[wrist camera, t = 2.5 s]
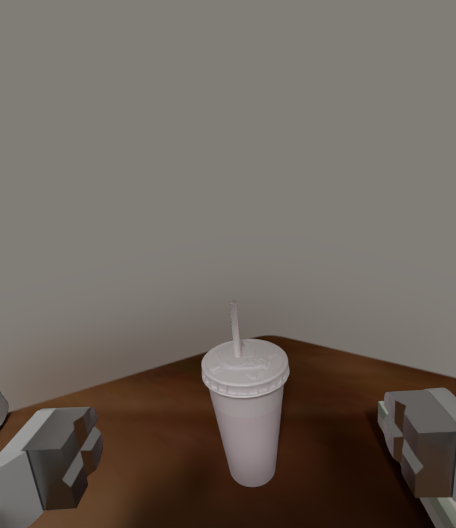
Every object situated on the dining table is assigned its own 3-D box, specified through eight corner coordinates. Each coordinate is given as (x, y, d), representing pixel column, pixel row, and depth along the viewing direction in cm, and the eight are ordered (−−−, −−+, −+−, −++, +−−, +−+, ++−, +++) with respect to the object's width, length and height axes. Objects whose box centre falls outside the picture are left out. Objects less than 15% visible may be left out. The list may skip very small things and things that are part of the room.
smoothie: (238, 426, 31) (226, 284, 27) (304, 452, 27) (301, 293, 24) (196, 480, 26) (174, 313, 22) (271, 521, 22) (260, 330, 19)
